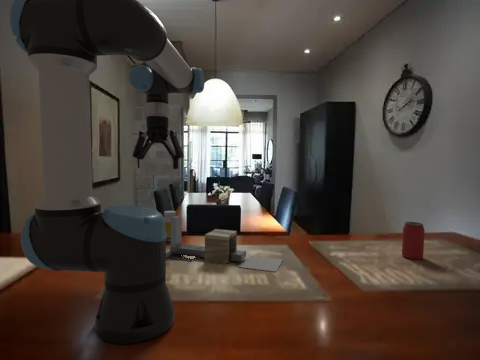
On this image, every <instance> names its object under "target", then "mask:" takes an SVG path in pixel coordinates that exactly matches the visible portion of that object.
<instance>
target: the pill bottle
mask: <svg viewBox="0 0 480 360" xmlns="http://www.w3.org/2000/svg"><path fill="white" fill-rule="evenodd" d="M176 212H177V211H175V210H165V211H164V212H163V216H164V219H165V230H166V234H167V237H166V242H171V217H174V216H177V215H176Z"/></svg>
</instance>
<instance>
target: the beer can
mask: <svg viewBox="0 0 480 360" xmlns="http://www.w3.org/2000/svg"><path fill="white" fill-rule="evenodd" d="M425 231H426V230H425V228H424V224H423V223H421V222H417V221H415V222H414V221H406V222H405V223H404V225H403V227H402V243H401V245H402V247H401V255H402V256H403V257H404V258H405V257H406V259H408V258H409V260H413V261H415V260H416V261H417V260H422V259H423V258H424V250H425V249H424V248H425V246H424V245H425V233H426V232H425Z"/></svg>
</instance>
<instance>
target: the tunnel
mask: <svg viewBox="0 0 480 360" xmlns="http://www.w3.org/2000/svg"><path fill="white" fill-rule="evenodd" d="M229 239H230V249H232V250H238V247H237V245H238V243H237V241H238V230H229V229H218V228H214V229H213V230H211V231H210V232H209V231H208V232H207V233H206V234H204V246H205V258H204V262H205V261H210V262H209V263H213V262H218V263H217V264H221V263H230V261H229Z"/></svg>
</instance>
